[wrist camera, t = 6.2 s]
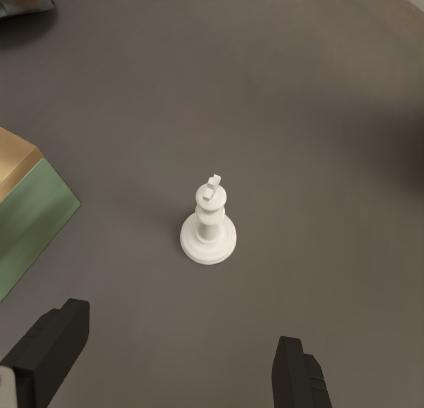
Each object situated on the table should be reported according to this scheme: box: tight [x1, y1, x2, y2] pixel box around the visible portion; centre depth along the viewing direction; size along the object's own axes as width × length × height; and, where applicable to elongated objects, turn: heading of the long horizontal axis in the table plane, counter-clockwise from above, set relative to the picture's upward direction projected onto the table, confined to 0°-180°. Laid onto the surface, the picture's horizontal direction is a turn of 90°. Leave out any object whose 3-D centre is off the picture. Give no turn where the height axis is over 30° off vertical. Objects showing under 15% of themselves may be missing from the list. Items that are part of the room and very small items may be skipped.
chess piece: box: [180, 175, 236, 265], centre depth 24 cm, size 5×5×10 cm
